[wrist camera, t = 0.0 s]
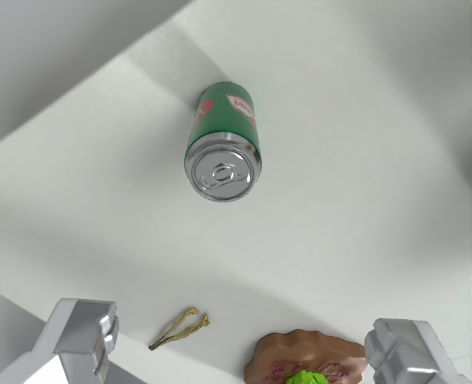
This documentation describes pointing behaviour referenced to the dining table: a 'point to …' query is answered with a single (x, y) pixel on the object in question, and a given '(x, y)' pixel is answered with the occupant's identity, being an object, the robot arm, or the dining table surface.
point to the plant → (306, 360)
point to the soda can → (223, 144)
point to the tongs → (184, 333)
